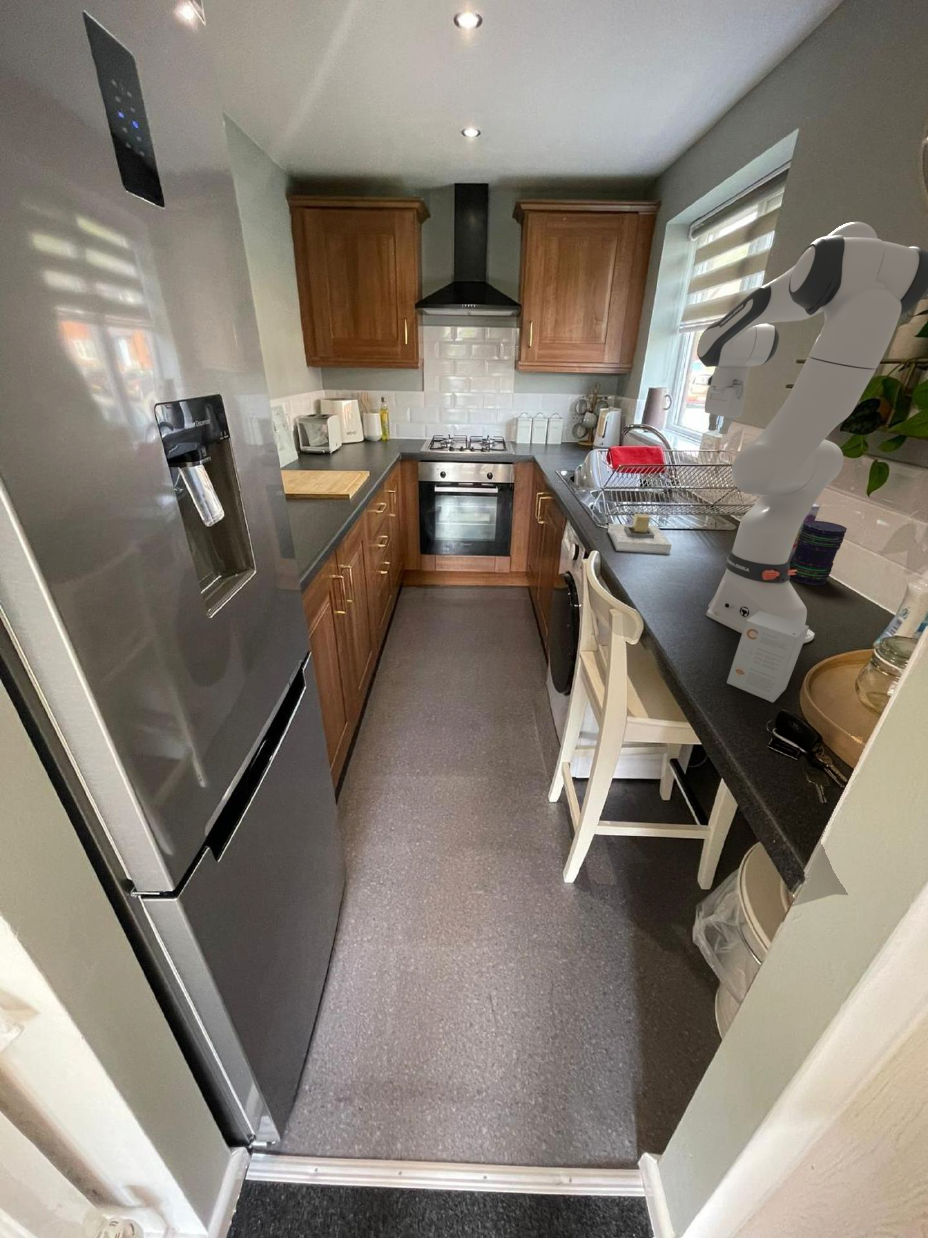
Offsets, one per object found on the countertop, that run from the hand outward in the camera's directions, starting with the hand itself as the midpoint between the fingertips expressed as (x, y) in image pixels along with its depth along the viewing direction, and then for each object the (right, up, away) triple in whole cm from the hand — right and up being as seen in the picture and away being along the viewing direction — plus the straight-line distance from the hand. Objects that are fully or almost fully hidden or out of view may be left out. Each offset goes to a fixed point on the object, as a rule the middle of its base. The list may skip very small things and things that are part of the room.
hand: (717, 432), depth 144 cm
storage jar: (+21, -43, -7) cm, 49 cm away
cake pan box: (+17, -38, +4) cm, 41 cm away
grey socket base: (-17, -29, +18) cm, 39 cm away
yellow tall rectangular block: (-17, -30, +18) cm, 39 cm away
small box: (-21, -67, -55) cm, 89 cm away
